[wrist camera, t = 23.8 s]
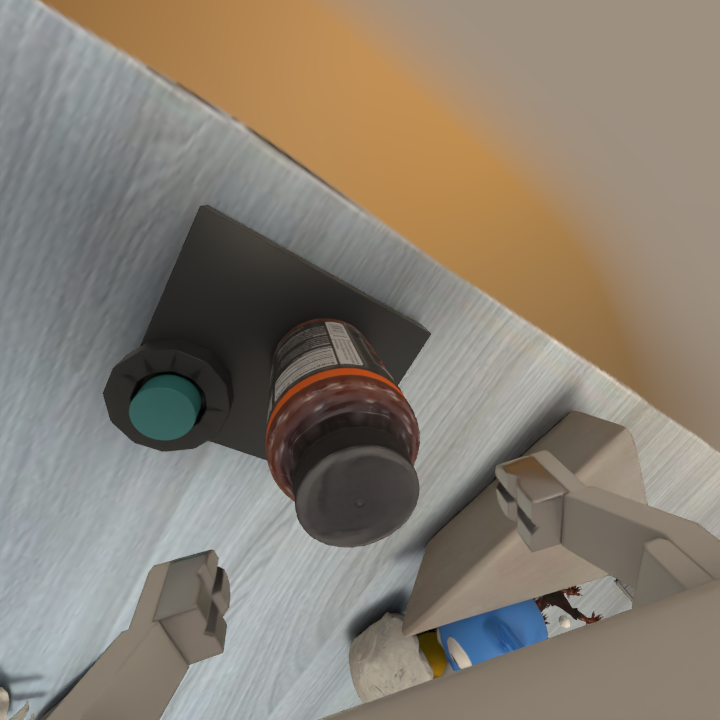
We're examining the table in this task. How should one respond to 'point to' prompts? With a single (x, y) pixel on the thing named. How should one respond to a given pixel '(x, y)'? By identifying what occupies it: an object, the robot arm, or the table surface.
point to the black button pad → (243, 331)
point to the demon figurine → (564, 606)
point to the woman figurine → (2, 703)
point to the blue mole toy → (491, 634)
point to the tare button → (165, 407)
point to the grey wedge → (503, 543)
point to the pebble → (386, 659)
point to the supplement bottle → (340, 435)
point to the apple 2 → (433, 652)
